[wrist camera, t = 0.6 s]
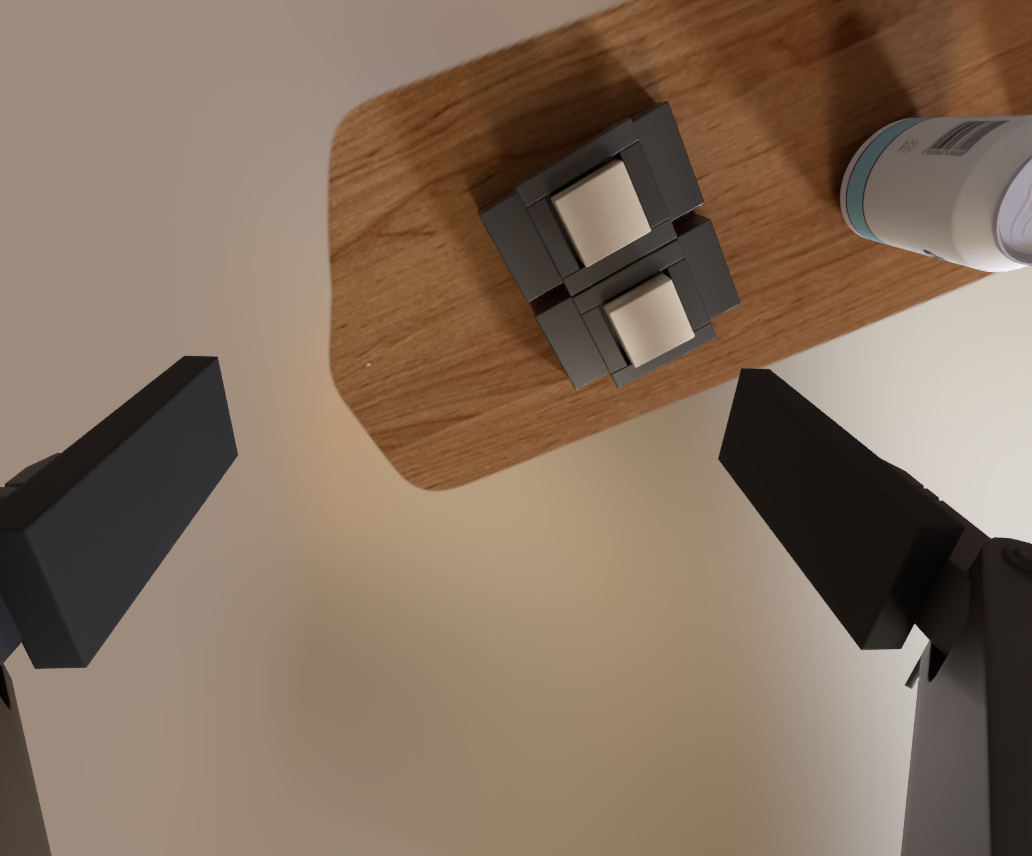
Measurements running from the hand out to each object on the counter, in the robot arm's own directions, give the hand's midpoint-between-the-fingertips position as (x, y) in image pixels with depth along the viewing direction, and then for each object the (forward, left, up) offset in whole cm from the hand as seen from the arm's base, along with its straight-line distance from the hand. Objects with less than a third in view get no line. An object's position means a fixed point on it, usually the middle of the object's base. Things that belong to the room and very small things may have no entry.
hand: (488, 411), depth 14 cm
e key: (-7, +8, -20) cm, 23 cm away
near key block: (-7, +1, -24) cm, 25 cm away
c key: (-7, +1, -20) cm, 22 cm away
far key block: (-7, +8, -24) cm, 26 cm away
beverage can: (-24, +9, -24) cm, 35 cm away
